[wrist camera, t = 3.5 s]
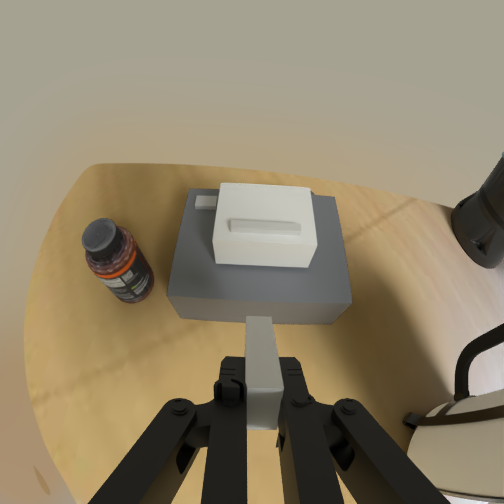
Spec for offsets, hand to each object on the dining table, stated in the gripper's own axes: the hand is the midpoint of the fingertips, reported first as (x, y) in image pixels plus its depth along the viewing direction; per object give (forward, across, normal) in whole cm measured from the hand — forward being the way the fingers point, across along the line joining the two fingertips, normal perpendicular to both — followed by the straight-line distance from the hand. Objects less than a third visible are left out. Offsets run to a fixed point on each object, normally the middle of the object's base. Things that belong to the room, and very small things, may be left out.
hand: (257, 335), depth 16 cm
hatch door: (+13, +1, +4) cm, 14 cm away
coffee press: (+2, +24, -19) cm, 30 cm away
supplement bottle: (+17, -15, -4) cm, 23 cm away
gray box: (+20, +1, 0) cm, 20 cm away
